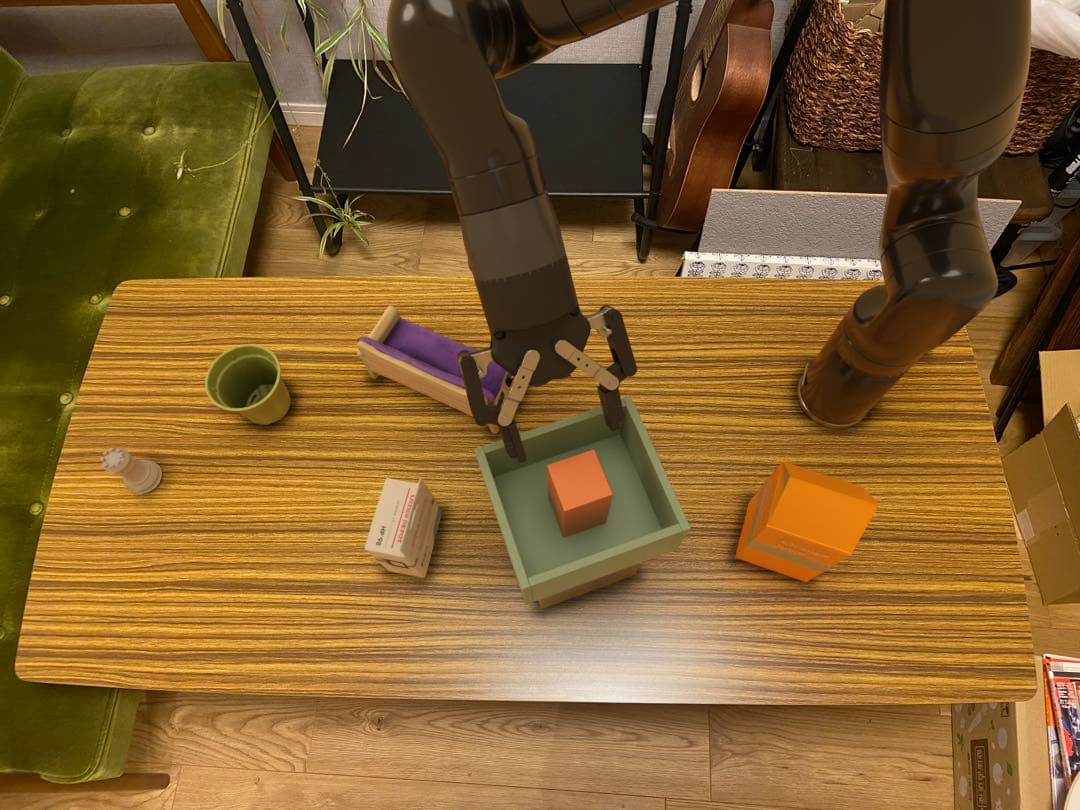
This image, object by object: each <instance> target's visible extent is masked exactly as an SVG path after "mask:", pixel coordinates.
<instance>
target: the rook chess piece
mask: <svg viewBox="0 0 1080 810" xmlns="http://www.w3.org/2000/svg"><path fill="white" fill-rule="evenodd" d="M108 448H109V450H104V452H103V453H102V455H103V457H100V462H101V465H102V469H103V470H104V471H106V472H107V473H112V474H114V475H116V476H121V477H122V479H123V483H124V485H125V487H126V488H127V489H129V490H130V491H132V492H133V493H134V494H139V495H143V494H149V493H150V492H151V491H154V489H156V488H157V487H158V486H159V484H160V483H161V480H162V477H163V473H162V472H163V471H162V468H161V467H160V465H159V464H158V463H156V462H154V461H152V460H151V459H150V460H149V459H144V458H142V459H141V458H140V459H136V458H134V456H133V455H132V454H130V453H129V451H128V450H127V449H126V448H124V447H108Z"/></svg>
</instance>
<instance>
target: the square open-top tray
mask: <svg viewBox="0 0 1080 810" xmlns="http://www.w3.org/2000/svg"><path fill="white" fill-rule="evenodd" d="M621 401H622V406H623V410H624V414H625V417H624V421H622V422H620V427H621V429H618V430H615V431H612V430H611V429H610V428H609V427H608V426H607V424H606V422H605V418H604V414H603V410H602V406H597V407H594V408H592V409H589V410H586V411H582V412H580V413H577V414H573V415H571V416H568V417H564V418H562V419H559V420H556V421H552V422H550V423H547V424H544V425H541V426H538V427H535V428H531V429H529V430H526V431H523V432H519V435H520V438H521V441H522V445H523V448H524V451H525V455H526V458H527V461H524V462H521V463H519V462H518V460H517V458H513V459H511V458H510V456H509V455H508V454H507V452H506V450H505V447H504V444H503V441H502V439H499V440H496V441H494V442H490V443H487V444H484V445H481V446H478V447H476V448H473V450H474V453H475V456H476V460H477V465H478V467H479V471H480V474H481V477H482V481H483V483H484V486H485V489H486V491H487V494H488V497H489V501H490V504H491V506H492V509H493V512H494V515H495V518H496V522H497V525H498V527H499V530H500V533H501V537H502V540H503V542H504V545H505V548H506V551H507V554H508V557H509V560H510V563H511V566H512V570H513V572H514V575H515V579H516V581H517V584H518V587H519V591H520V593H521V596H522V598H523V599H522V600H523V602H524V605H529V604H531V603H535V602H538V600H540V599H543V598H546V597H548V596H551V595H554V594H556V593H559V592H562V591H565V590H567V589H570V588H573V587H576V586H578V585H581V584H584V583H587V582H589V581H592V580H595V579H597V578H600V577H603V576H606V575H608V574H611V573H614V572H617V571H619V570H622V569H625V568H628V567H630V566H633V565H636V564H638V563H640V564H641V563H644V562H646V561H650V560H652V559H654V558H657V557H661V556H663V555H666V554H668V553H671V552H673V551H676V550H678V549H679V547H680V546H681V544H682V543H683V541H684V540H685V538H686V537H687V535H688V533H689V532H690V530H691V529H692V528H691V524H690V523H689V521H688V518H687V517H686V514H685V512H684V510H683V508H682V506H681V504H680V501H679V499H678V497H677V494H676V493H675V490H674V488H673V485H672V483H671V482H670V479H669V477H668V475H667V472H666V470H665V468H664V465H663V463H662V462H661V459H660V457H659V455H658V453H657V450H656V448H655V446H654V443H653V442H652V440H651V438H650V436H649V435H650V434H649V433H648V430H647V428H646V426H645V424H644V421H643V420H642V418H641V414H640V413H639V411H638V409H637V406H636V404H635V402H634V400H633V398H632V396H631V395H630V396H626V397H624V398H621ZM593 449H594V450H595V452H596V455H597V457H598V459H599V462H600V464H601V467H602V469H603V471H604V474H605V476H606V479H607V481H608V483H609V486H610V488H611V491H612V493H613V496H612V500H611V505H610V509H609V513H608V518H607V522H606V523H604V524H601V525H598V526H595V527H592V528H590V529H587V530H584V531H581V532H578V533H575V534H573V535H570V536H567V537H563V535H562V532H561V529H560V527H559V524H558V521H557V519H556V516H555V513H554V511H553V508H552V505H551V503H550V500H549V497H548V480H547V465H549V464H552V463H555V462H558V461H561V460H564V459H567V458H570V457H572V456H575V455H578V454H581V453H584V452H587V451H590V450H593Z"/></svg>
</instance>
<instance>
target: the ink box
mask: <svg viewBox="0 0 1080 810" xmlns="http://www.w3.org/2000/svg"><path fill="white" fill-rule="evenodd" d="M442 515H443V513H442V510H441V509H440V507H439V505H438V504H437V501H436V499H435V498H434V495H433V494H432V492H431V490H430V488H429V486H428V484H427V483H425V481H424V479H423V478H422V477H420V478H419V479H418V482H415V481H414V482H412V481H406V480H400V479H395V478H390V477H386V478H385V480H384V483H383V487H382V490H381V493H380V496H379V499H378V502H377V505H376V509H375V512H374V515H373V518H372V522H371V525H370V527H369V531H368V535H367V538H366V542H365V545H364V550H365V551H366V552H367V553H368V554H369V555H370V556H372V557H373V558H374V559H375V560H376V561H377V562H378V563H379V564H380V565H381V566H382V567H384V568H385V570H387V571H388V572H390V573H397V574H401V575H407V576H412V577H418V578H425V577H426V576H427V573H428V569H429V565H430V561H431V557H432V553H433V550H434V546H435V542H436V538H437V535H438V530H439V526H440V522H441V518H442Z"/></svg>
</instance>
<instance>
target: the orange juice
mask: <svg viewBox="0 0 1080 810" xmlns="http://www.w3.org/2000/svg"><path fill="white" fill-rule="evenodd" d="M879 506H880V504H879V503H878V501H876V499H875V498H874V497H873V496H872V494H871V493H870V492H869V491H868V490H867V489H866V488H865V487H864V486H861V485H859V484H855V483H852V482H850V481H846V480H843V479H840V478H837V477H834V476H831V475H827V474H824V473H821V472H817V471H814V470H812V469H808V468H805V467H802V466H799V465H796V464H793V463H790V462H788V461H787V462H786V461H781V462H780V464H779V465H778V466H777V467H776V468H775V470H774V471H773V472H772V474H771V475H770V476H769V477H768V478H767V479H766V480H765V481H764V482H763V484H762V485H761V486H760V488H759V489H758V490H757V491H756V493H754V495H753V496H752V497H751V499H750V500H749V501H748V505H747V508H746V513H745V517H744V520H743V525H742V528H741V532H740V536H739V540H738V544H737V548H736V550H735V551H736V552H735V555H734V558H735V559H738V560H741V561H743V562H746V563H748V564H752V565H755V566H758V567H762V568H764V569H767V570H770V571H773V572H775V573H778V574H781V575H784V576H787V577H790V578H791V579H796V580H798V581H801V582H804V583H807V582H809V581H811V580H812V579H814V578H816V577H818V576H819V575H820V574H823V573H825V572H826V571H828V570H830V569H831V568H832V567H833V566H836V565H837V564H839V563H840V562H842V561H844V560H845V559H847V558H849V557H851V556H852V555H853V552H854V550H855V548H856V547H857V545H858V543H859V542H860V539H861V538H862V536H863V535H864V532H865V530H866V529H867V527H868V525H869V523H870V522H871V521H872V518H873V517H874V514H875V513H876V512H877V510H878V508H879Z"/></svg>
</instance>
